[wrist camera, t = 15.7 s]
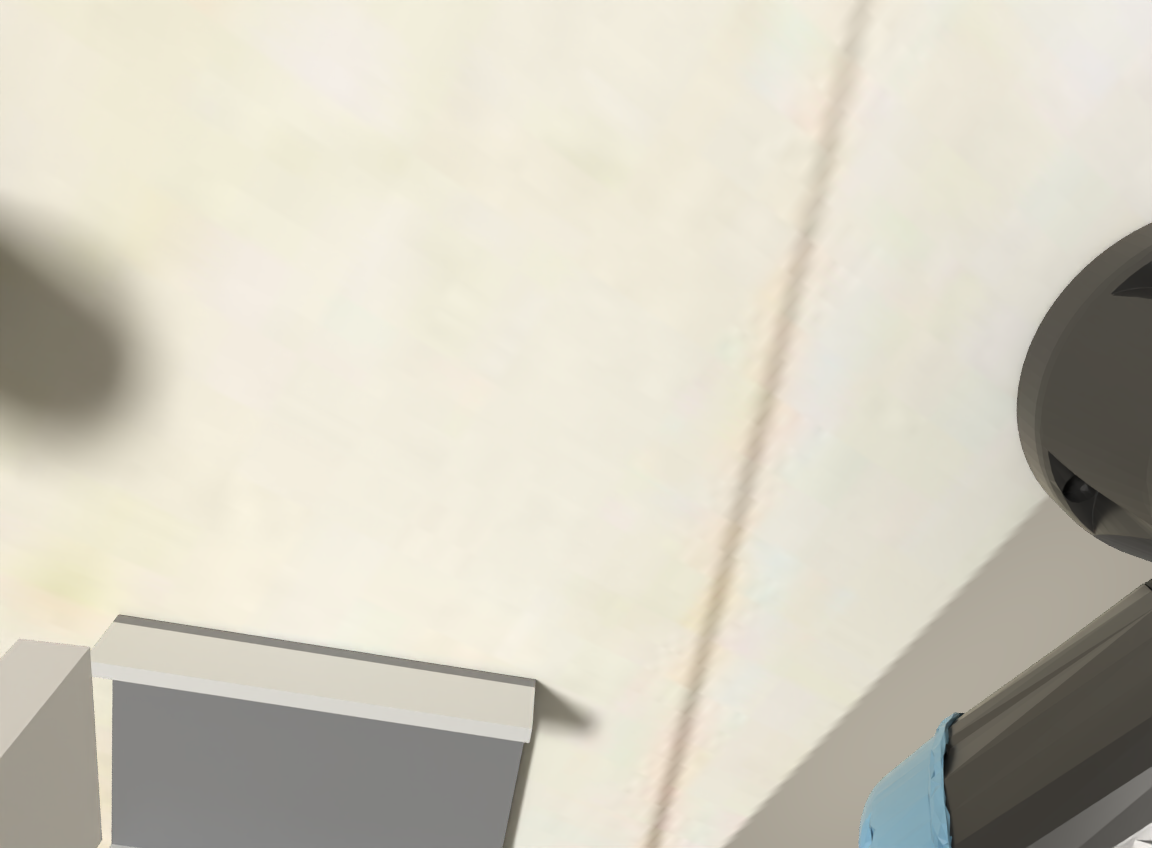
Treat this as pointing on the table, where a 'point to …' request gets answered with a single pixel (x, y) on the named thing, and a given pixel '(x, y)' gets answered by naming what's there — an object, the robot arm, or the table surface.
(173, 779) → the slot rack
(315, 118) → the table surface
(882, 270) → the table surface
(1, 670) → the robot arm
